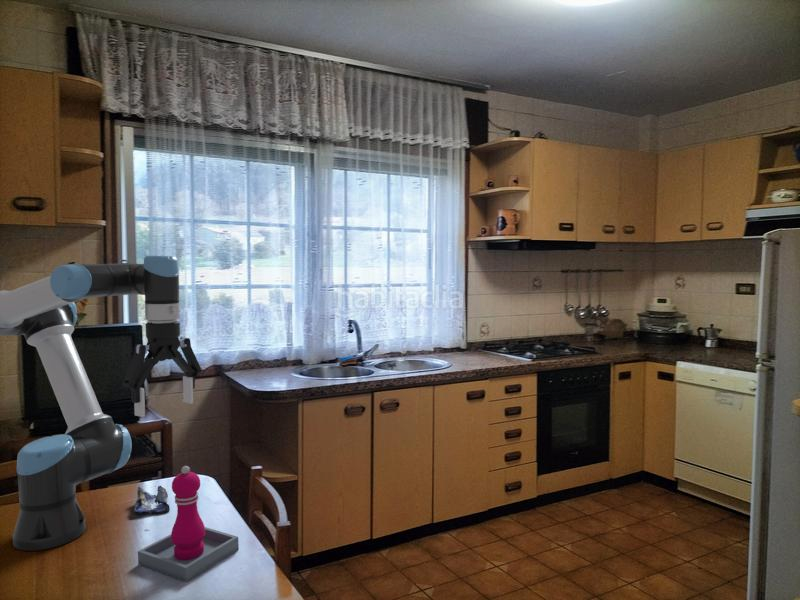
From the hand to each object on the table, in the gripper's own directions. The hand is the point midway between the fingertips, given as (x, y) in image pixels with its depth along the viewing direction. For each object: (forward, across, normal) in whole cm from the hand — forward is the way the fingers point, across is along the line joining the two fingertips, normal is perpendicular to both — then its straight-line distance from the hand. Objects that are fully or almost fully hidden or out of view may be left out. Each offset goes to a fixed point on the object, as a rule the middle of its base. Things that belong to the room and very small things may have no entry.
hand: (165, 409), depth 138 cm
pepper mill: (+30, -5, -14) cm, 33 cm away
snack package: (+32, +8, +16) cm, 37 cm away
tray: (+31, -5, -14) cm, 34 cm away
